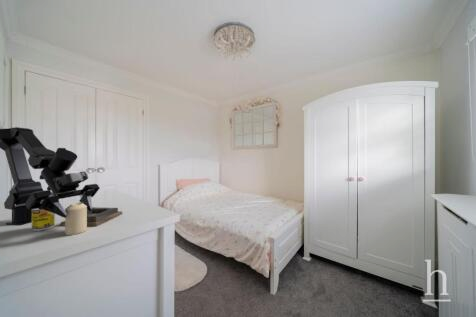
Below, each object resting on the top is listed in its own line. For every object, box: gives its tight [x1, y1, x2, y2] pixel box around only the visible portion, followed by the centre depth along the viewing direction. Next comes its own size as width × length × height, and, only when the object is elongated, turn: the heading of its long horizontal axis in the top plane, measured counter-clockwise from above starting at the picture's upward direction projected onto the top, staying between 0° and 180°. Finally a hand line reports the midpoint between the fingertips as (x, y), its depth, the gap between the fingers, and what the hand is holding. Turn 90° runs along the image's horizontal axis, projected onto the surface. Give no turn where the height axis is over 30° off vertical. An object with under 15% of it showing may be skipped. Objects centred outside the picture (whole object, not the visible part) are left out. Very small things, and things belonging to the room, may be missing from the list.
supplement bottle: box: [31, 208, 56, 232], centre depth 63 cm, size 6×6×10 cm
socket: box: [60, 206, 123, 227], centre depth 73 cm, size 14×14×3 cm
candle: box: [64, 202, 88, 236], centre depth 61 cm, size 6×6×10 cm
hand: (79, 213), depth 60 cm, fingers open, 7 cm apart
